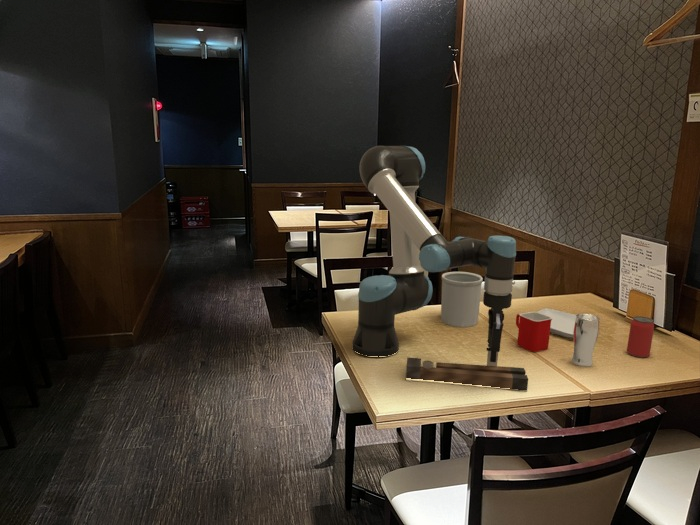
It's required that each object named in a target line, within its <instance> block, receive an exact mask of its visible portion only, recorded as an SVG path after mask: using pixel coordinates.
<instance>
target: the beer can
mask: <svg viewBox="0 0 700 525" xmlns="http://www.w3.org/2000/svg"><path fill="white" fill-rule="evenodd" d="M654 330H655V324H654V320H653V319H652V318H650V317H647V316H641V315H640V316H639V315H637V316H634V317H632V320H631V323H630V326H629V333H628V340H627V346H626V351H627V353H628V354H629V355H631V356H633V357H637V358H648V357H649V356H650V355H651V351H652V350H651V349H652V343H653V337H654Z"/></svg>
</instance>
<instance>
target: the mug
mask: <svg viewBox="0 0 700 525" xmlns="http://www.w3.org/2000/svg"><path fill="white" fill-rule="evenodd" d="M519 319H520V320H519ZM551 320H552V317H550V316H547V315H544V314H542V313H539V312H537V311H528V312H522V313H518V314H516V317H515V326H516V327H517V328H518V332H517V333H518V334H517V340H516V341H517V342H516V343H517V344H516V345H517V346H518V347H520V348H523V349H524V350H526V351H528V352H532V353H537V352H541V351H545V350H546V351H547V350H548V349H549V344H550V336H551V333H550V327H551Z"/></svg>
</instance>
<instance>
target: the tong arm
mask: <svg viewBox="0 0 700 525" xmlns="http://www.w3.org/2000/svg"><path fill="white" fill-rule="evenodd" d="M435 366H436V368H447V369H459V370H471V371H483V372H495V373H507V374H520V375H526V369H525V368H524V367H519V366H517V367H516V366H502V365H501V366H498V365H497V366H487V364H485V365H484V364H471V363H456V362H455V363H453V362H442V361H441V362H439V361H436V364H435Z"/></svg>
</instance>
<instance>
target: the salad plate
mask: <svg viewBox="0 0 700 525" xmlns="http://www.w3.org/2000/svg"><path fill="white" fill-rule="evenodd" d="M536 312H539V313H542V314H544V315H547V316H550V317H552V320H551V327H550V334H554V335H556V336H559V337H564V338H574V337H573V331H574V323H575V319H576V315H577V314H574V313H569V312H566V311H562V310H559V309H558V310H557V309H552V308H549V307H548V308H547V307H545V308H541V309H540V310H538V311H536ZM519 321H520V318H519ZM599 323H600V320H599Z"/></svg>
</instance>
